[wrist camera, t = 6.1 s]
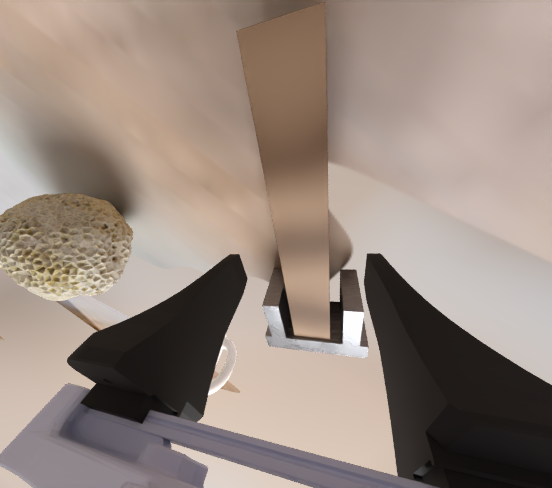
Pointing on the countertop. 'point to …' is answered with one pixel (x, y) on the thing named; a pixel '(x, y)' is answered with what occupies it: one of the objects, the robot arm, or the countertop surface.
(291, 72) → the rail
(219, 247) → the countertop surface
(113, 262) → the decorative item
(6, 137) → the countertop surface
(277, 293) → the bracket
